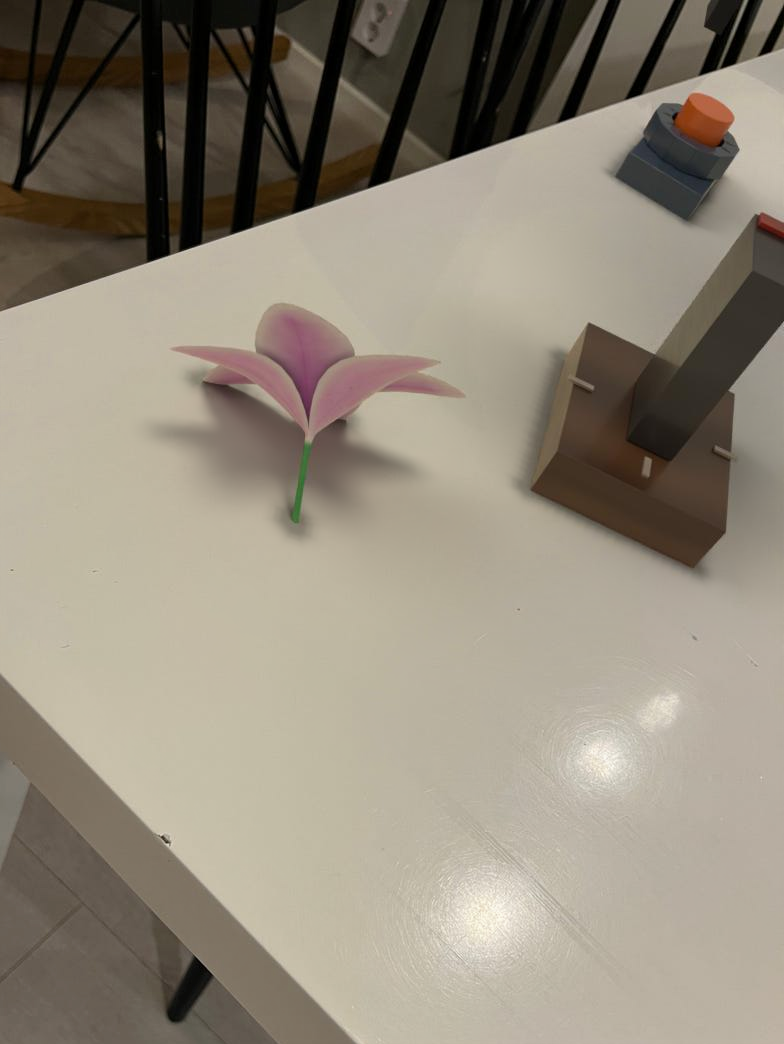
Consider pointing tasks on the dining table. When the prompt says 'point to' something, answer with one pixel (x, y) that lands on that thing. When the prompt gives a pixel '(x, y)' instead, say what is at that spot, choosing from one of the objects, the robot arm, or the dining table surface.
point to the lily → (315, 372)
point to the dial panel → (632, 455)
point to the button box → (675, 163)
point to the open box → (712, 341)
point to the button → (704, 119)
